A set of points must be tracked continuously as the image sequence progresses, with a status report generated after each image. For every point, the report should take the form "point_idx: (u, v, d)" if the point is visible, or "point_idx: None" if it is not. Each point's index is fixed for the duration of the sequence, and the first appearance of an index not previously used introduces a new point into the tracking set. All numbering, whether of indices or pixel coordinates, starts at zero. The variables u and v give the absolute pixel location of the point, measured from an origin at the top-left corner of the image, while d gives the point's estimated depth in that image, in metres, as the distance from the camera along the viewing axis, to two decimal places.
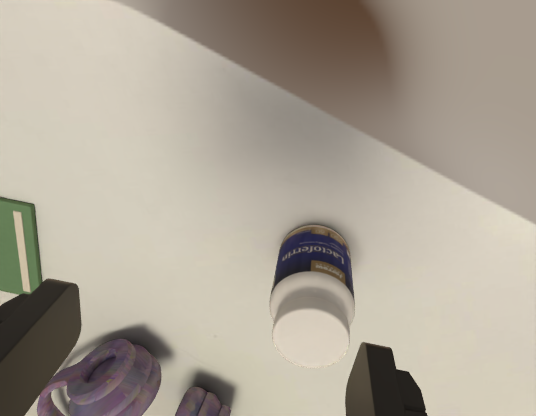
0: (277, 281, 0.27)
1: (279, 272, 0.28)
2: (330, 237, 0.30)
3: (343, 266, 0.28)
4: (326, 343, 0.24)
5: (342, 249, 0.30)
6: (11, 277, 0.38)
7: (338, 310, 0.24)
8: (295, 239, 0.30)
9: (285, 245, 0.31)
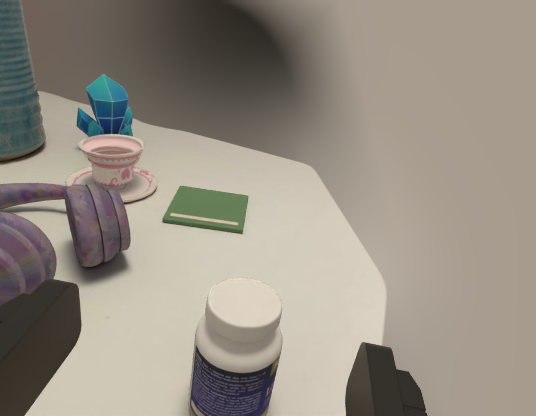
0: None
1: None
2: (269, 401, 0.28)
3: (268, 385, 0.26)
4: (244, 310, 0.24)
5: (263, 408, 0.27)
6: (182, 210, 0.52)
7: (274, 328, 0.24)
8: None
9: None
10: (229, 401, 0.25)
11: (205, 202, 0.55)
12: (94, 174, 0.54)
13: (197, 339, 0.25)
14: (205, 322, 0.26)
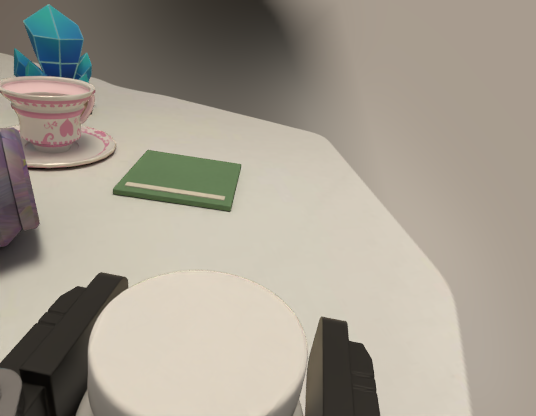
0: None
1: None
2: None
3: None
4: (197, 365, 0.08)
5: None
6: (144, 179, 0.36)
7: None
8: None
9: None
10: None
11: (180, 170, 0.39)
12: (21, 128, 0.38)
13: None
14: None
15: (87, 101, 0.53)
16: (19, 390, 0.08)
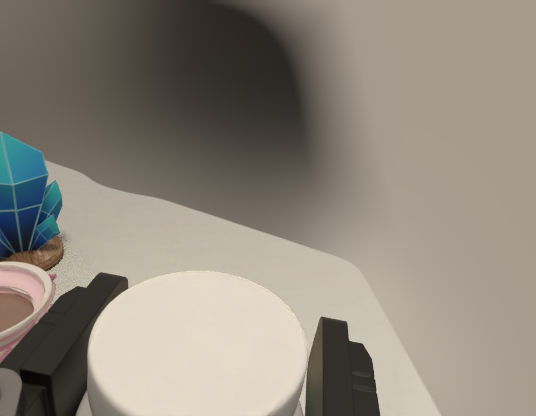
0: None
1: None
2: None
3: None
4: (197, 366, 0.08)
5: None
6: None
7: None
8: None
9: None
10: None
11: None
12: None
13: None
14: None
15: (57, 239, 0.41)
16: (19, 390, 0.08)
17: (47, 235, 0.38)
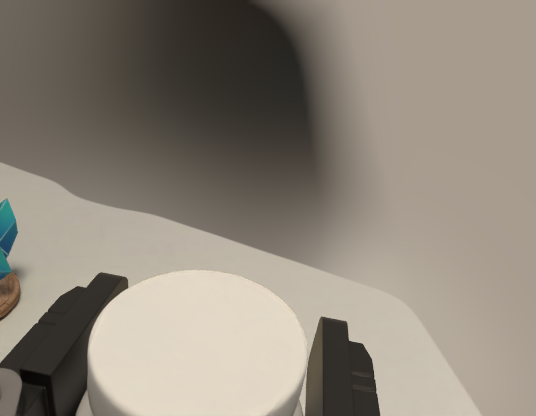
0: None
1: None
2: None
3: None
4: (197, 365, 0.08)
5: None
6: None
7: None
8: None
9: None
10: None
11: None
12: None
13: None
14: None
15: (11, 278, 0.31)
16: (19, 390, 0.08)
17: None
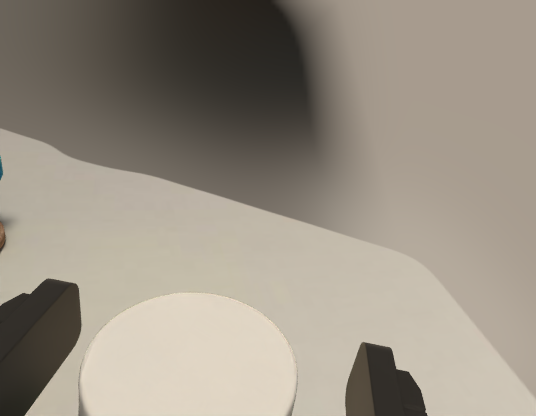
0: None
1: None
2: None
3: None
4: (187, 394, 0.08)
5: None
6: None
7: None
8: None
9: None
10: None
11: None
12: None
13: None
14: None
15: None
16: None
17: None
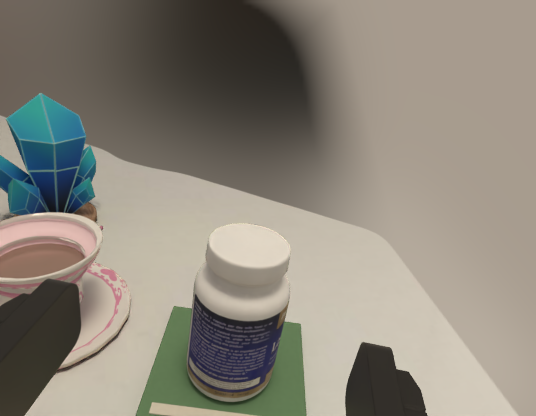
0: None
1: None
2: (274, 361, 0.26)
3: (274, 340, 0.24)
4: (249, 252, 0.22)
5: (268, 367, 0.24)
6: (176, 390, 0.25)
7: (282, 273, 0.22)
8: None
9: None
10: (231, 355, 0.23)
11: None
12: None
13: (196, 287, 0.23)
14: (205, 269, 0.23)
15: (90, 205, 0.42)
16: None
17: (83, 198, 0.39)
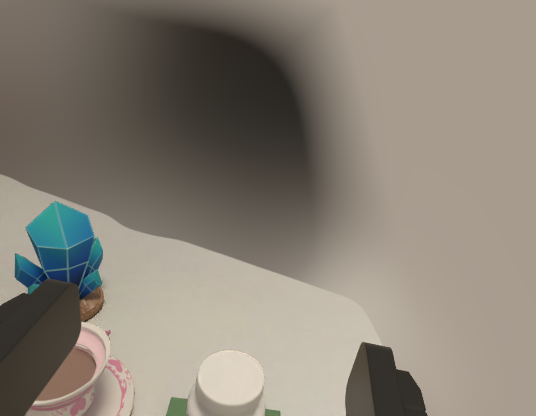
0: None
1: None
2: None
3: None
4: (230, 386, 0.27)
5: None
6: None
7: (257, 402, 0.27)
8: None
9: None
10: None
11: None
12: None
13: (188, 409, 0.28)
14: (195, 393, 0.28)
15: (98, 288, 0.47)
16: None
17: (92, 287, 0.44)
